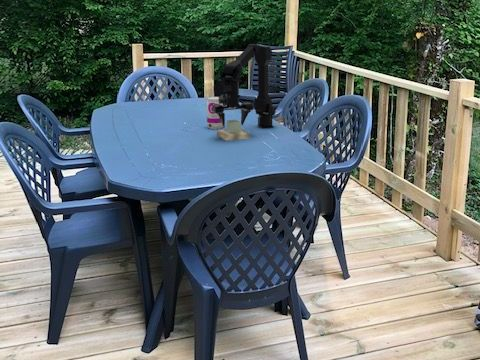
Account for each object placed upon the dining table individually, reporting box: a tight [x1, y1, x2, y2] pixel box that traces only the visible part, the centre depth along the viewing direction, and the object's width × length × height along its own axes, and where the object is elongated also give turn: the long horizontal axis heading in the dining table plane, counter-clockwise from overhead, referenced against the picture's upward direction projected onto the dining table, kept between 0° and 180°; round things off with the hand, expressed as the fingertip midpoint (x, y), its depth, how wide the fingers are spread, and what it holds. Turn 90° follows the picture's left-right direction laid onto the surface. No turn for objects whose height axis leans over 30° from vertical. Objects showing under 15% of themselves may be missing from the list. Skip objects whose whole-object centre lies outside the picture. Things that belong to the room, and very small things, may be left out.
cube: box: [226, 119, 242, 133], centre depth 267 cm, size 5×5×5 cm
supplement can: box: [206, 96, 224, 130], centre depth 285 cm, size 8×8×15 cm
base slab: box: [216, 128, 251, 142], centre depth 268 cm, size 12×12×3 cm
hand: (232, 125), depth 267 cm, fingers open, 9 cm apart
